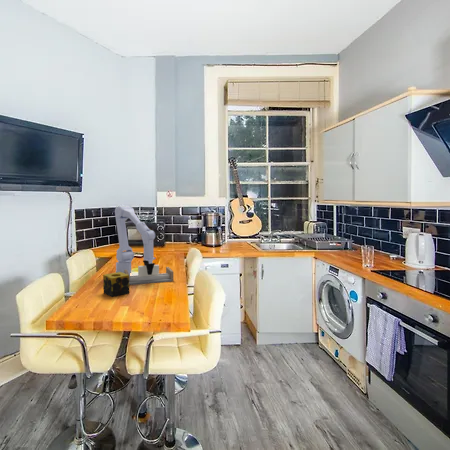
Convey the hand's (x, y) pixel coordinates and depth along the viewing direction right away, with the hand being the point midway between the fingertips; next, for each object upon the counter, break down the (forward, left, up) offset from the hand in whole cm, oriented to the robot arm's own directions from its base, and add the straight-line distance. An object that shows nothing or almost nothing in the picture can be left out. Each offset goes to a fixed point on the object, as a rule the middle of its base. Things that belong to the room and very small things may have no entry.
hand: (148, 273), depth 203 cm
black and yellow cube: (-20, -21, -5) cm, 29 cm away
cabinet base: (0, 0, -4) cm, 4 cm away
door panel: (0, 0, -3) cm, 3 cm away
